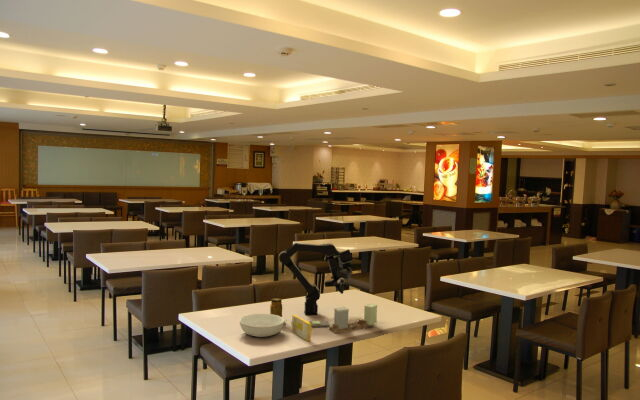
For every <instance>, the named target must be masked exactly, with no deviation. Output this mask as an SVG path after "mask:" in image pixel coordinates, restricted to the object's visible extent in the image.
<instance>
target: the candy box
mask: <svg viewBox="0 0 640 400" xmlns="http://www.w3.org/2000/svg"><path fill="white" fill-rule="evenodd" d="M291 332H292V333H293V334H295V335H296V336H298V337H300V338H302V339H303V340H304V341H306V342H310V341H311V340H312V339H311V337H312V336H311V335H312V328H311V323H310V322H309V321H308V320H306V319H304V318H302V317H300V316H299V315H297V314H292V317H291Z"/></svg>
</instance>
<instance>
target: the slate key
mask: <svg viewBox="0 0 640 400" xmlns="http://www.w3.org/2000/svg"><path fill="white" fill-rule="evenodd" d="M333 310H334V312H333V313H334V317H333V318H334V319H333V320H334V321H333V324H335V325H337V326H338V329H345V328H348V324H349V312H350V309H349V308H348V307H345V306H342V307H335V308H333Z"/></svg>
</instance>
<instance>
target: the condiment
mask: <svg viewBox="0 0 640 400" xmlns="http://www.w3.org/2000/svg"><path fill="white" fill-rule="evenodd" d="M269 308H270V309H269V311H270V313H269V314H273V315H278V316H280V317H282V318H283V304H282V299H281V298H279V297H275V298H274V297H273V298H271V301H270V307H269ZM284 325H287V320H286V319H284Z"/></svg>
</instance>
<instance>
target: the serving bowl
mask: <svg viewBox="0 0 640 400" xmlns="http://www.w3.org/2000/svg"><path fill="white" fill-rule="evenodd" d="M284 320H285V319H284V318H283V316H282V317H280V316H278V315H273V314H270V313H253V314H252V313H251V314H247V315H244V316H242V317H241V318H240V319H239V326H240V328H241V330H242V331H243V332H244V333H245V334H247V335H249V336H254V337H257V338H263V337H264V338H265V337H270V336H273V335H276V334H278V333H279V332H280V331H281V330H282V329H283V327H284V325H285V324H284Z"/></svg>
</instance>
